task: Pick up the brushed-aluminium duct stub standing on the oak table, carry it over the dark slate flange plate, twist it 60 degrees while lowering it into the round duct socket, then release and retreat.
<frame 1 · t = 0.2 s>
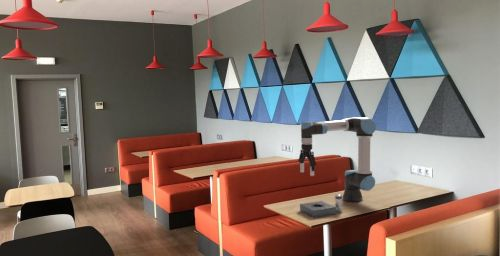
hand: (307, 173, 285), 27 cm above the table, fingers open, 13 cm apart
duct stub: (338, 211, 286), on the table
flange plate: (317, 212, 286), on the table
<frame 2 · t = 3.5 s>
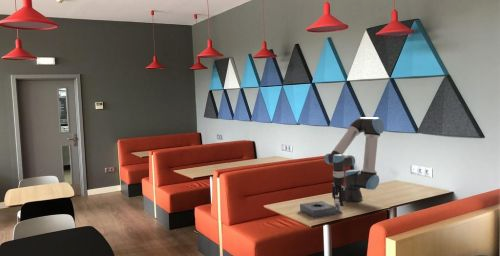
hand: (338, 209, 286), 2 cm above the table, fingers closed on duct stub, 5 cm apart
duct stub: (338, 211, 286), on the table, touching gripper
when the fingers open (6 cm above the table, at t = 7.8 s): duct stub drops 4 cm, resting in flange plate.
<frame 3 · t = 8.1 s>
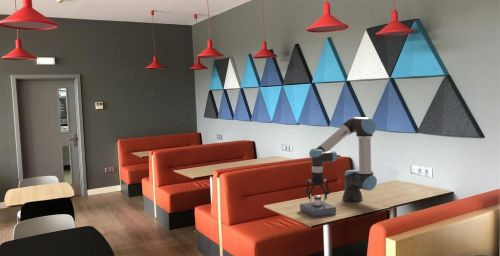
hand: (317, 203, 285), 6 cm above the table, fingers open, 9 cm apart
duct stub: (317, 212, 286), resting in flange plate
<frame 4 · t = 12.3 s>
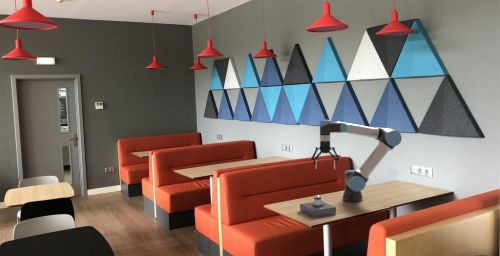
hand: (325, 169, 305), 27 cm above the table, fingers open, 13 cm apart
nothing on the table moved.
at the end: duct stub 0.0 cm off-centre in the flange plate, point 0.0 cm above the flange plate's base; duct stub tilted 0°; the gripper is holding nothing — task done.
